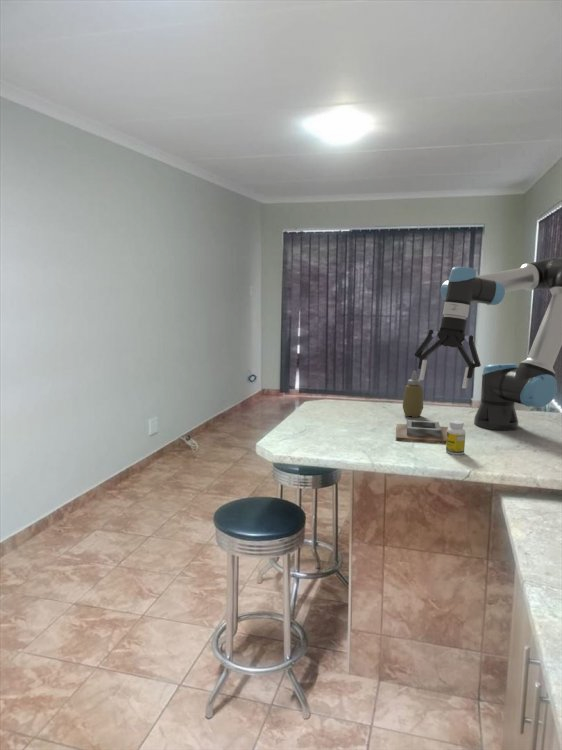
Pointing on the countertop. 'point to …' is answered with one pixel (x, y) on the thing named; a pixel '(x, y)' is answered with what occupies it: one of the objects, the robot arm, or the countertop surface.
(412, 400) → the squeeze bottle
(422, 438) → the socket holder
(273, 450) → the countertop surface
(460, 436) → the supplement bottle
